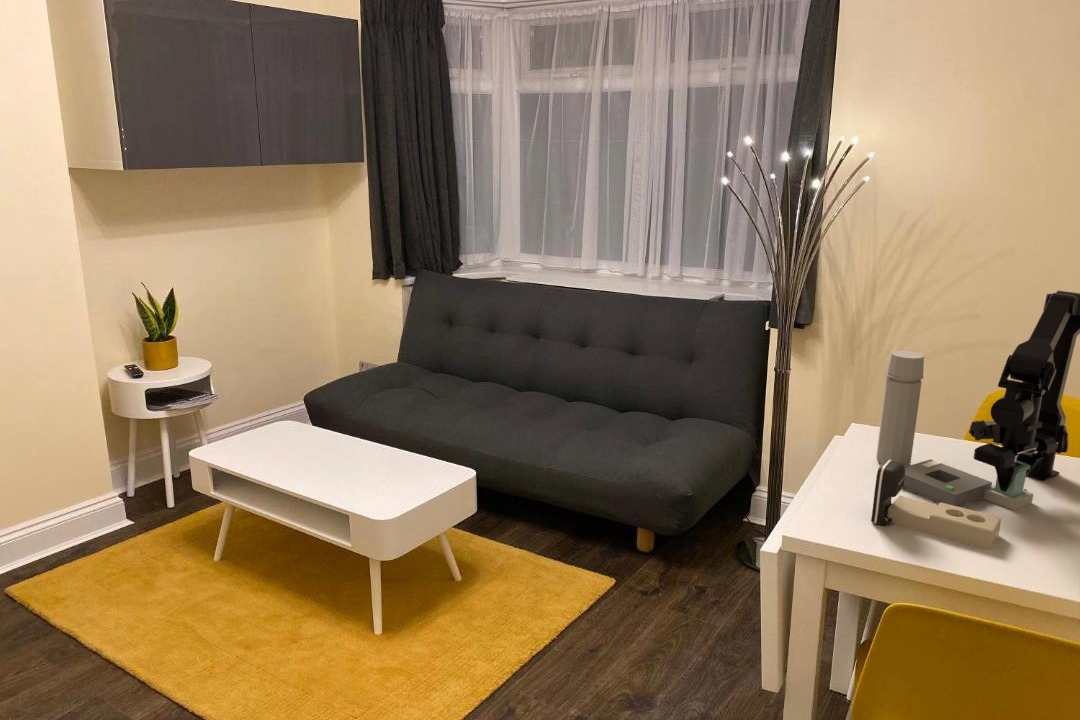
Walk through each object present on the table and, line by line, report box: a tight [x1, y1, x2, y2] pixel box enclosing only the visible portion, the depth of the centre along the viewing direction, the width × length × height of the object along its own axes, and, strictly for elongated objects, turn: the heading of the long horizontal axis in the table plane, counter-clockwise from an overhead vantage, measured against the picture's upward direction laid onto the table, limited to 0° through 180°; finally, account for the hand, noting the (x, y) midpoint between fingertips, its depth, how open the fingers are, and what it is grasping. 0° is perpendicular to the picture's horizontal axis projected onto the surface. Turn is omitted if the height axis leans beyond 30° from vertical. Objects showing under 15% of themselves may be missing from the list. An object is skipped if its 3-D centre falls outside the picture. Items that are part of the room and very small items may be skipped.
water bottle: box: [875, 349, 925, 467], centre depth 189 cm, size 9×8×25 cm
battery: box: [870, 460, 905, 526], centre depth 163 cm, size 7×4×11 cm, turn 144°
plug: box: [995, 460, 1031, 498], centre depth 172 cm, size 4×4×8 cm
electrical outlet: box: [887, 495, 1002, 550], centre depth 161 cm, size 7×4×18 cm
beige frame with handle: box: [983, 484, 1034, 511], centre depth 174 cm, size 9×6×2 cm
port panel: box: [902, 458, 993, 507], centre depth 178 cm, size 12×14×3 cm
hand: (1009, 488), depth 173 cm, fingers closed on plug, 4 cm apart
